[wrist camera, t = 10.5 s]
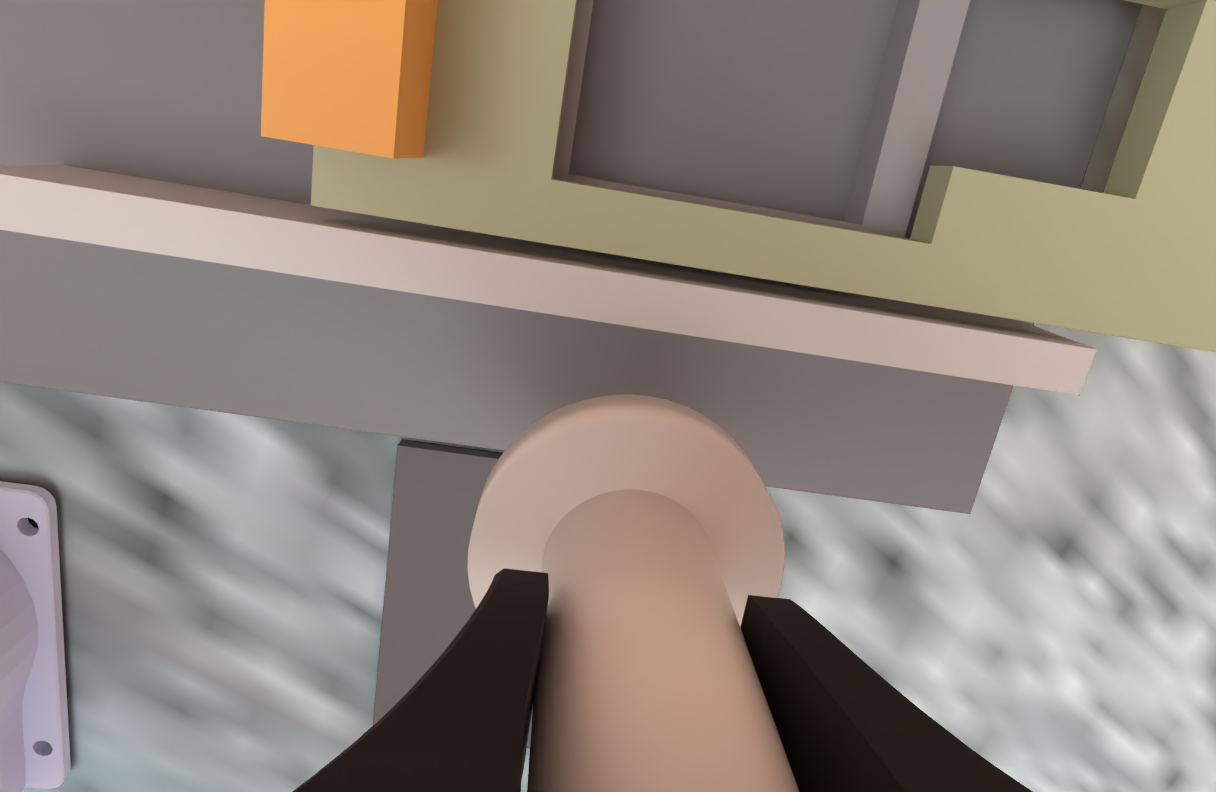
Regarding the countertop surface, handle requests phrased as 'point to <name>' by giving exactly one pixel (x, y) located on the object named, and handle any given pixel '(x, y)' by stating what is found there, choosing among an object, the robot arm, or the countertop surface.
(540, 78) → the plate
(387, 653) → the rubber pad
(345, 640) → the countertop surface
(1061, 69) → the socket board
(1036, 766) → the countertop surface
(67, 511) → the countertop surface
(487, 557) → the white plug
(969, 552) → the countertop surface
